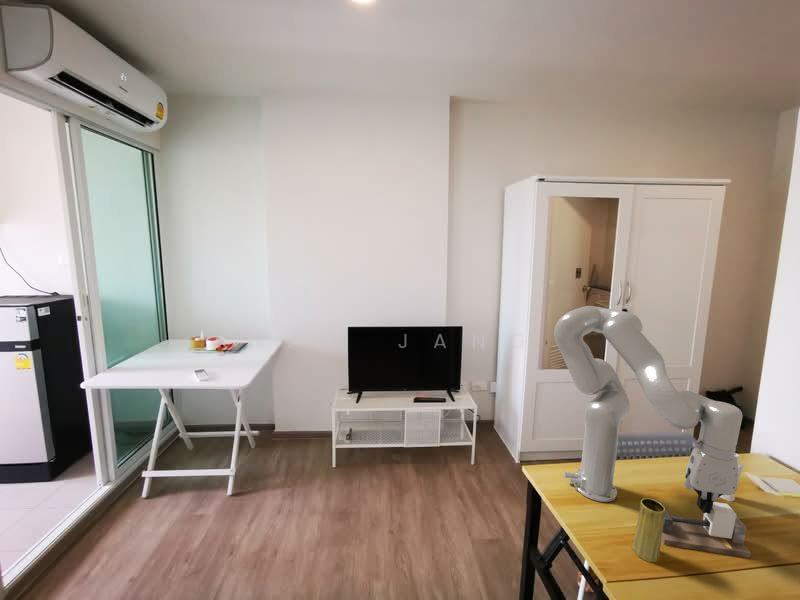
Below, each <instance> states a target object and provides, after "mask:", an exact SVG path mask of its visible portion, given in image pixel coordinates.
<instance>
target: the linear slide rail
mask: <svg viewBox="0 0 800 600" xmlns="http://www.w3.org/2000/svg"><path fill="white" fill-rule="evenodd" d="M703 526H708V527H710V522H709V521H706V520H703V519H700V518H699V519H697V518H692V517H684V516H676V515H670V514H669V512H668V511H667V509H666V508H665V515H664V522H663V528H662V537H661V543H662V544H663V543H664V544H667V545H666V546H671V545H672V546H671V547H678V548H685V549H691V550H696V551H703V552H709V553H710V552H711V553H715V554H721V555H727V556H735V557H742V558H747V559H751V553H752V552H751V551H750V550H749V549H748V548H747V547H746V545H745V544H744V541H745V537H746V533H747V529H748V528H747V526H746V525H745V524H744V523H743V521H741V519H740V518H739V517H738V516H737V515H736V519H735V524H734V529H733V534H732V538H731V539H730V538H723V537H716V536H710V535H709V533H708V532H707V531H706V529H705V528H704V527H703ZM664 544H663V545H664Z"/></svg>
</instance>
